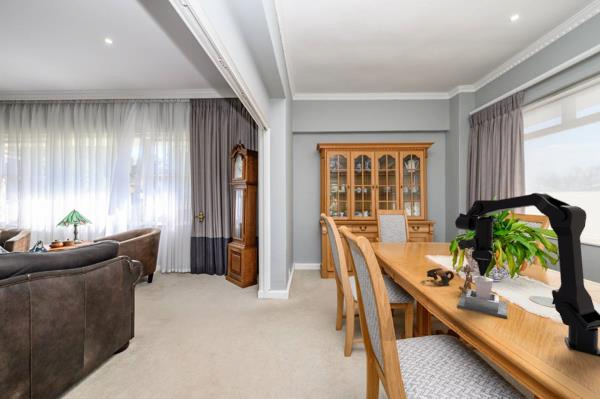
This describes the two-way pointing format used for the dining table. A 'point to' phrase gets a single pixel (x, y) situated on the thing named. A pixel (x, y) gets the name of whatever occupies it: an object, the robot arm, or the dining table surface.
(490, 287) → the smoothie
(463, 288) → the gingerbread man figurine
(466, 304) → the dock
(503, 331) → the dining table surface
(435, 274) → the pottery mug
